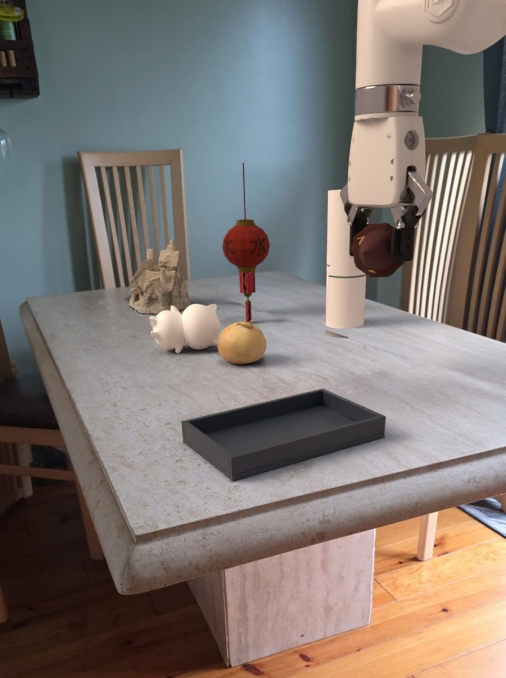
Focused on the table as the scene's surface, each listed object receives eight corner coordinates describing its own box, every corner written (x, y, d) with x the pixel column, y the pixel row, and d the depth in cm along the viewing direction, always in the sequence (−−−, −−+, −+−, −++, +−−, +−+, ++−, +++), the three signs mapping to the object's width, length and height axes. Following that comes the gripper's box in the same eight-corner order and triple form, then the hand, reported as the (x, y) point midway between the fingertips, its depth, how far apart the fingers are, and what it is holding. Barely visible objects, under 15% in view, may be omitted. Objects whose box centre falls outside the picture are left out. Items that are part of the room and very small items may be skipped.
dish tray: (384, 437, 72) (386, 416, 71) (232, 481, 63) (231, 458, 62) (322, 406, 82) (322, 388, 81) (182, 441, 73) (180, 421, 72)
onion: (211, 367, 100) (209, 323, 97) (226, 353, 107) (224, 312, 104) (259, 369, 98) (258, 324, 95) (271, 355, 105) (271, 313, 102)
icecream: (403, 231, 72) (425, 230, 85) (345, 214, 74) (375, 216, 87) (384, 289, 75) (408, 280, 88) (328, 272, 77) (360, 266, 90)
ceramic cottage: (147, 297, 156) (140, 235, 149) (203, 304, 149) (199, 239, 142) (108, 314, 144) (98, 247, 137) (167, 322, 137) (161, 252, 130)
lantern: (241, 330, 122) (234, 162, 110) (217, 322, 130) (208, 163, 117) (280, 323, 127) (278, 161, 114) (255, 315, 134) (251, 162, 122)
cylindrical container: (355, 327, 122) (360, 189, 111) (369, 335, 115) (376, 189, 105) (320, 330, 120) (322, 190, 110) (332, 339, 114) (336, 191, 104)
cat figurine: (146, 298, 105) (217, 292, 106) (152, 320, 115) (216, 314, 116) (152, 348, 104) (223, 341, 105) (157, 366, 114) (222, 359, 115)
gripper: (464, 98, 69) (449, 262, 76) (365, 113, 83) (361, 250, 90) (412, 97, 66) (402, 268, 73) (319, 113, 80) (318, 255, 87)
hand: (379, 257), depth 82 cm, fingers closed on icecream, 7 cm apart
